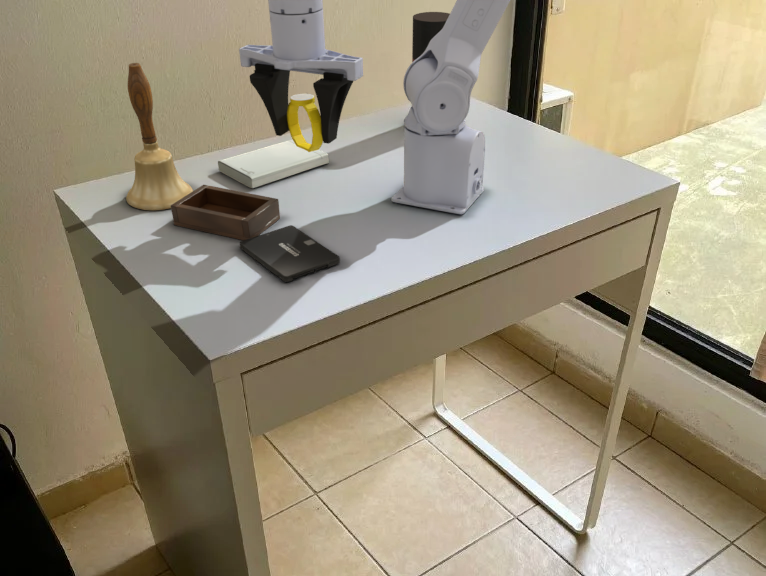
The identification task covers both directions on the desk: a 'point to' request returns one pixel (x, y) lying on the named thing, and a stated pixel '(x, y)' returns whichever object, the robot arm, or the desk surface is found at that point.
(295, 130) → the watch
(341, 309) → the desk surface
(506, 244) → the desk surface
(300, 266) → the solid state drive
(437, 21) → the deodorant
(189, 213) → the wooden tray
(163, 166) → the hand bell
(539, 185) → the desk surface
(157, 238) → the desk surface
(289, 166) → the hard drive
